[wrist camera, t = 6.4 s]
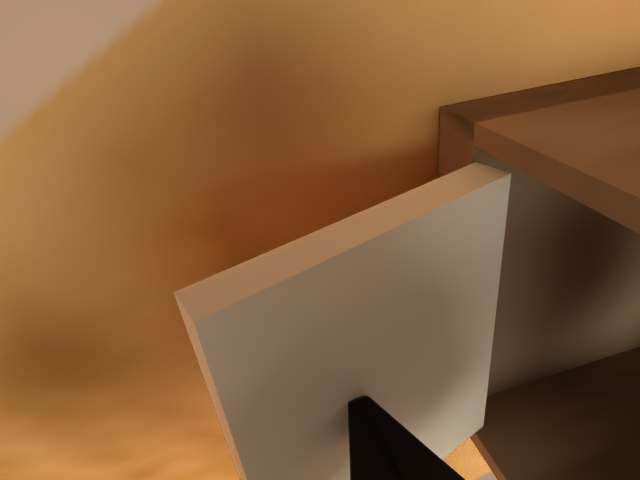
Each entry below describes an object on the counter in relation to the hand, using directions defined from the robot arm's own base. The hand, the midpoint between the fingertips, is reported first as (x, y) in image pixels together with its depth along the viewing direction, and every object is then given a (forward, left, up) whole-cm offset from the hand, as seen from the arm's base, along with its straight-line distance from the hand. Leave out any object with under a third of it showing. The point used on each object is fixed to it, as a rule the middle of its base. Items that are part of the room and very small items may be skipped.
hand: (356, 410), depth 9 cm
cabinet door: (-4, 0, -2) cm, 4 cm away
